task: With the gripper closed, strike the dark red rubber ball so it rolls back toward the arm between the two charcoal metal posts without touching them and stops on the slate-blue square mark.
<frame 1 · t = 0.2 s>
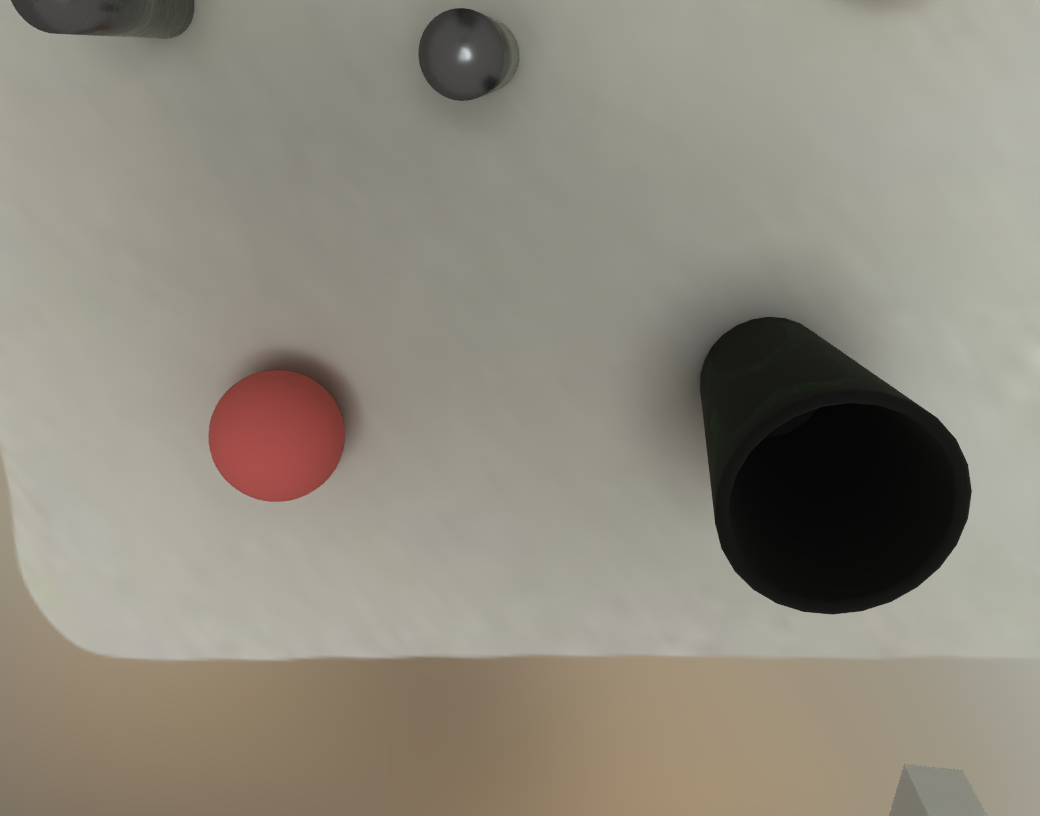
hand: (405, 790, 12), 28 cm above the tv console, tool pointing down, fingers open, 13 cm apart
cup: (764, 378, 39), on the tv console
ball: (277, 435, 38), on the tv console
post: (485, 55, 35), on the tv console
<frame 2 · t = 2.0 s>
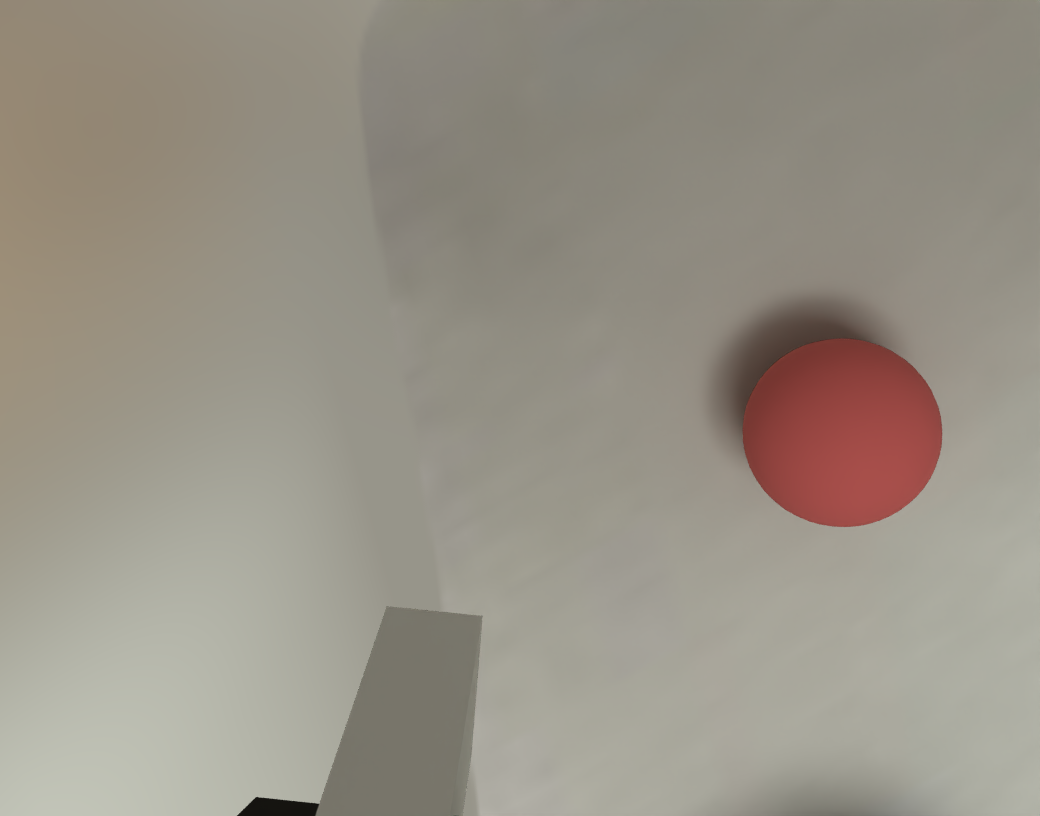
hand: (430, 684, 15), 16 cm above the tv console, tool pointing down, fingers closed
ball: (839, 432, 27), on the tv console
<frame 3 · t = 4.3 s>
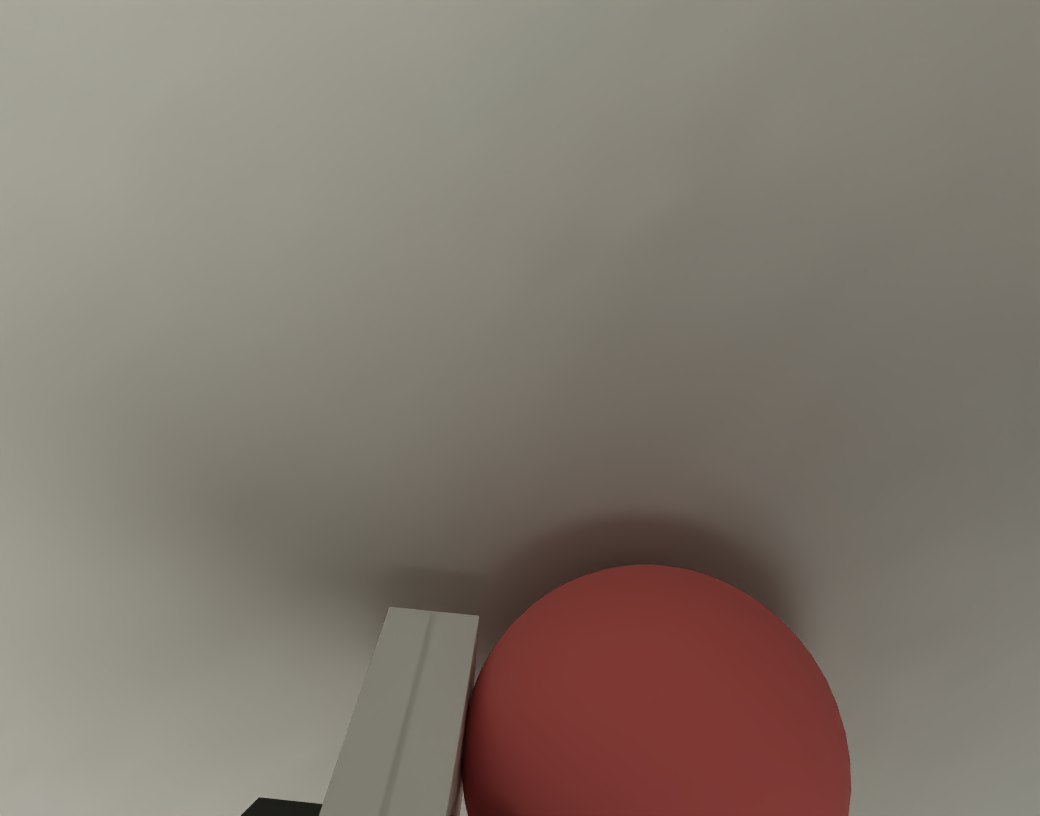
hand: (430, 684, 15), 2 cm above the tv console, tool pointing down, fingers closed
ball: (650, 755, 13), on the tv console, touching gripper
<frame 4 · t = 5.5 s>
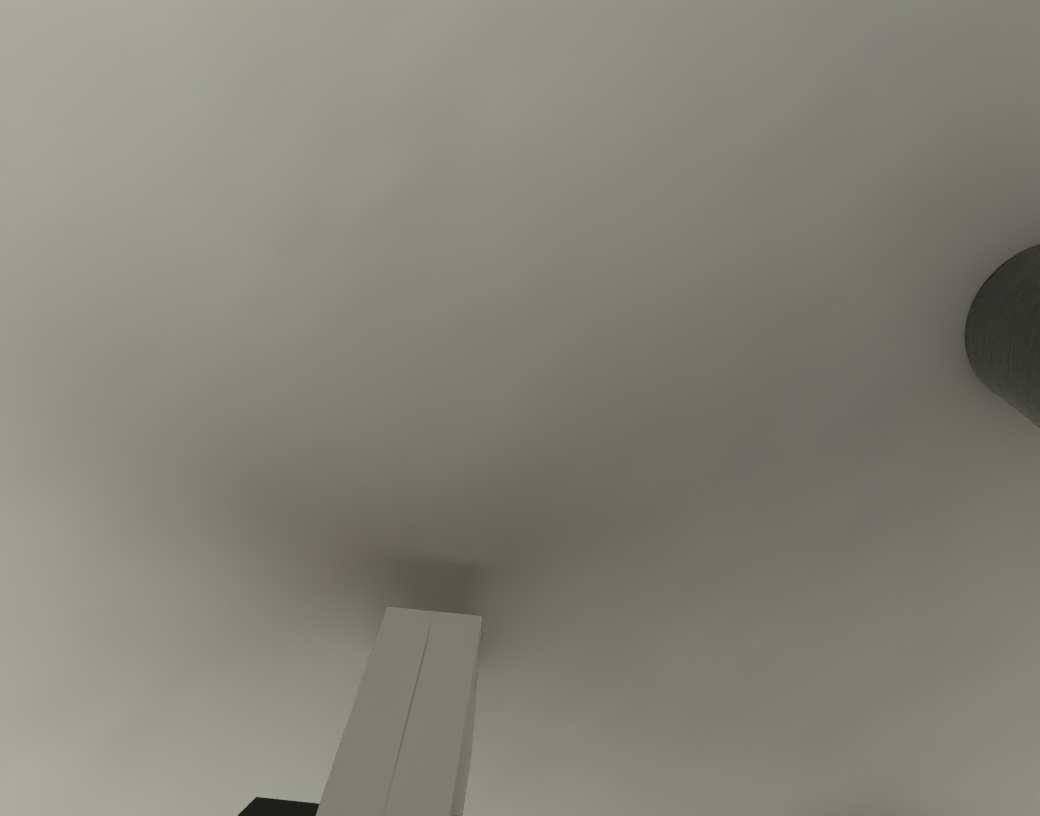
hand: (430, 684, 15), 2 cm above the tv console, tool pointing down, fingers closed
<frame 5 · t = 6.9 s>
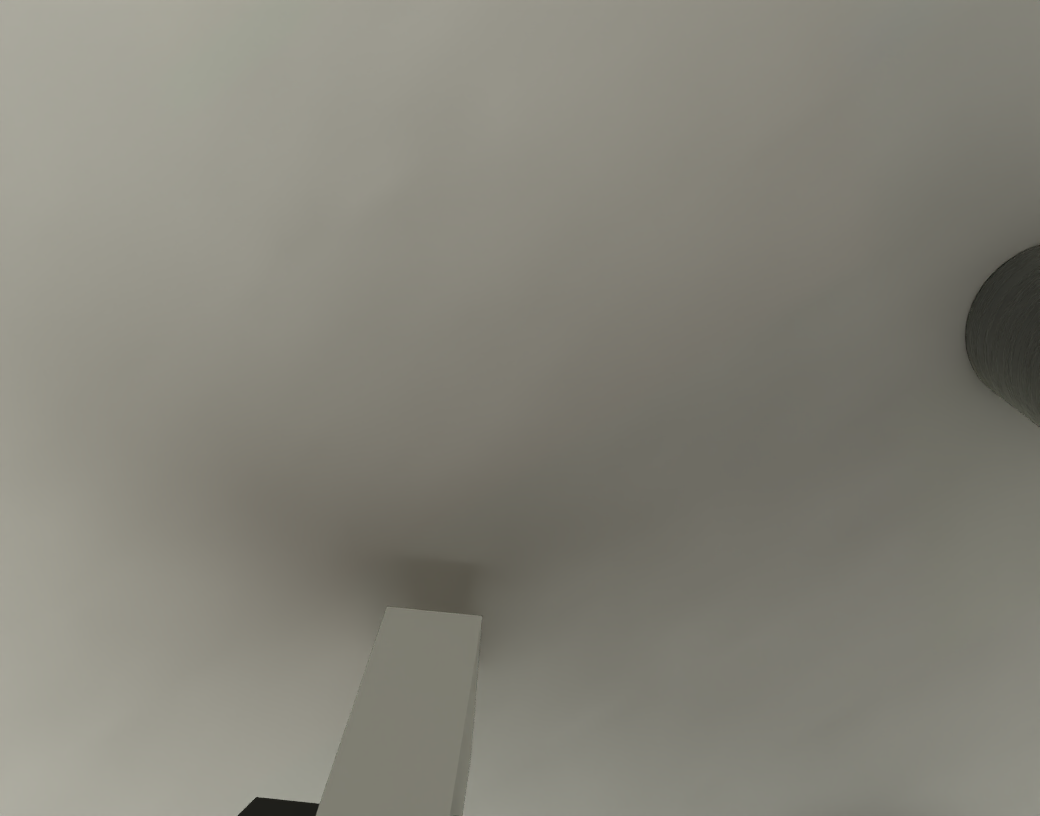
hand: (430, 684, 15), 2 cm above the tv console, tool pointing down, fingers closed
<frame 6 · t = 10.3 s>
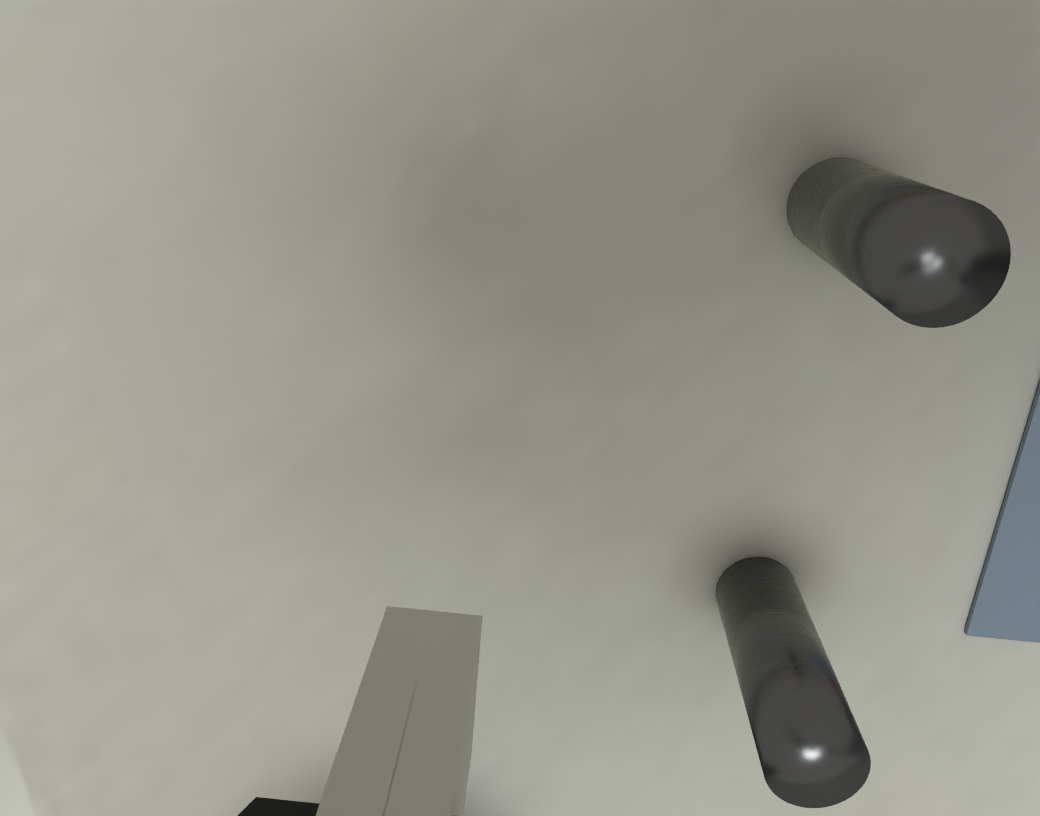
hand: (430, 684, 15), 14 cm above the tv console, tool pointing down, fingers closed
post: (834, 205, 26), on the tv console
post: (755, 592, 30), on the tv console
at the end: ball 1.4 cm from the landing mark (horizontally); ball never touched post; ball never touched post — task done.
